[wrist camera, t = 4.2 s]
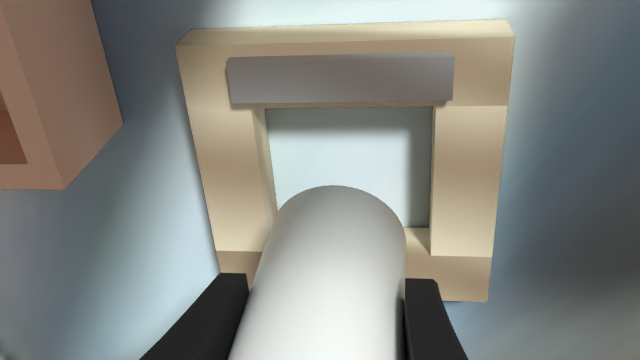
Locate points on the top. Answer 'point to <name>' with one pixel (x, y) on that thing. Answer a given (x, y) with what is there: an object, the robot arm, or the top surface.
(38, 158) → the brown open square box
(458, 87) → the tan square frame
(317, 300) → the cell
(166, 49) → the top surface
